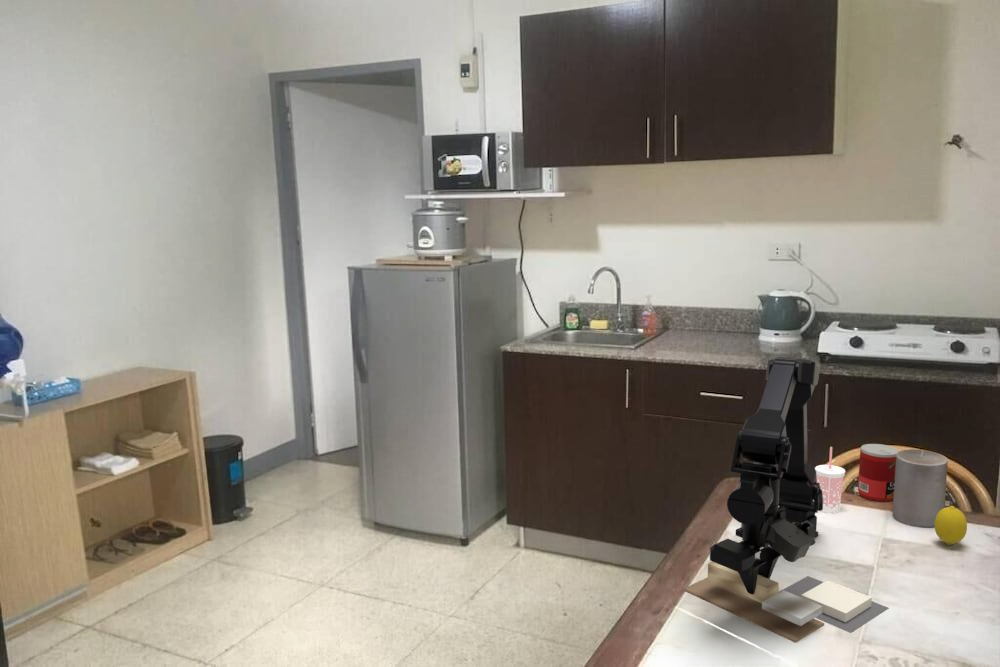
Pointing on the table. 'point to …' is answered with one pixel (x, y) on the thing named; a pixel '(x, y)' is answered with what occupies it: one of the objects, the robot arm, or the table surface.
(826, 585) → the tile
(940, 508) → the pillar candle
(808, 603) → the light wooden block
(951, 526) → the lemon
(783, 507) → the robot arm
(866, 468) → the canned food
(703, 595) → the board
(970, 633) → the table surface
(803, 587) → the mat
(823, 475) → the beverage cup
